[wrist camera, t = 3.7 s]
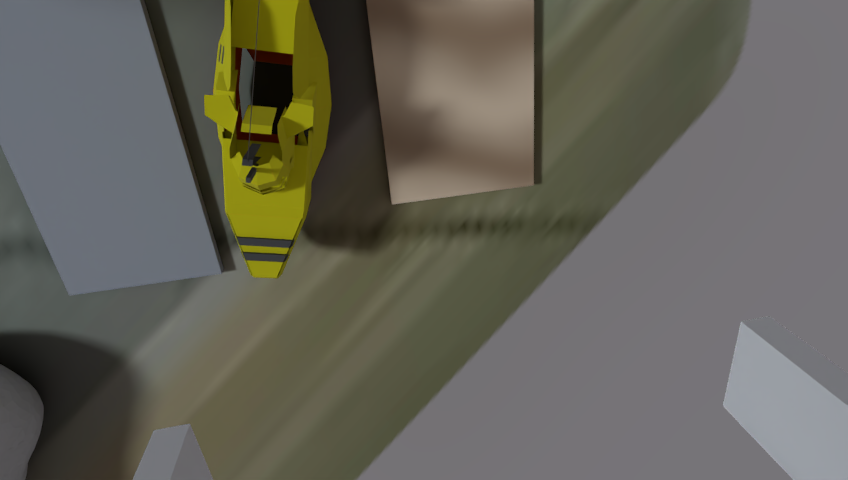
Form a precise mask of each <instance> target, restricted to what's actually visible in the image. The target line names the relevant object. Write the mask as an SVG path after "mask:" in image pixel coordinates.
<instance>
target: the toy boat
mask: <svg viewBox="0 0 848 480" xmlns="http://www.w3.org/2000/svg"><path fill="white" fill-rule="evenodd" d="M242 48H246V49H247V50H248V52H249V53H250V55H251V57H252V58H253V60H254V73H255V61H259V62H267V63H275V64H284V65H292V66H293V68H292V69H293V94H294V95H293V98H292V102H291V104H290V105H289V107H288V109H287V110H286V106H285V109H284V111H283V113H282V116H281V118H280V120H279V123H278V125H277V128H278V134H271V133H272V125H273V121H274V117H275V114H276V110H277V108H273V107H263V106H254V105H252V103H251V105H248V108H247V110H246V113H245V116H244V119H243V121H242V117H241V107H240V97H239V78H240V67H241V56H242ZM253 87H254V75H253ZM213 94H214V95H204V104H205V115H206V116H207V117H209V118H210V119H212V120H213V121H215V122H216V123H217V127H218V136H219V140H220V143H221V145H222V158H223V178H224V198H225V212H226V214H227V217H228V219H229V222H230V224H231V227H232V229H233V232H234V234H235V238H236V239H237V240H236V241H237V243H238V244H239V247H240V249H241V253H242V254H243V255H242V256H243V258H244V259H245V262H246V264H247V267H248V269H249V272H250V274H251V276H253V277H256V278H279V277H280V275H281V274H282V273H283V270H284V268H285V266H286V263H287V261H288V259H289V256H290V254H291V251H292V249H293V247H294V244H295V242H296V240H297V237H298V235H299V233H300V230H301V228H302V226H303V223H304V221H305V218H306V216H307V212H308V208H309V204H310V200H311V182H312V179H313V177H314V175H315V172H316V170H317V167H318V165H319V162H320V160H321V158H322V155H323V153H324V150H325V148H326V141H327V134H328V126H329V119H330V112H331V105H332V103H331V91H330V79H329V68H328V56H327V54H326V51H325V48H324V45H323V42H322V39H321V36H320V33H319V30H318V27H317V24H316V21H315V18H314V15H313V12H312V10H311V7H310V4H309V0H225V26H224V29H223V32H222V35H221V38H220V41H219V45H218V53H217V62H216V71H215V80H214V88H213ZM252 101H253V89H252ZM309 128H310V130H309V133H308V137H306V136H305V134H304V130H307V129H309ZM298 133H299V136H295V135H296V134H298Z"/></svg>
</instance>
